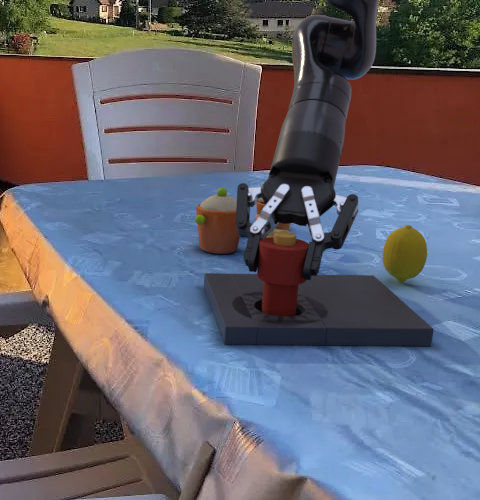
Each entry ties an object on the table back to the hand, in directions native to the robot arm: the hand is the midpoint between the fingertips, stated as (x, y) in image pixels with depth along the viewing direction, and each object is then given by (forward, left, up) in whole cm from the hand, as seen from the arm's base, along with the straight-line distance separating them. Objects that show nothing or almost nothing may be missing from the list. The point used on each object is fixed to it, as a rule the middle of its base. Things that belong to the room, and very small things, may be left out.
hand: (279, 271), depth 77 cm
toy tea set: (-4, -38, -7) cm, 38 cm away
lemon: (-21, -17, -7) cm, 27 cm away
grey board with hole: (-5, -5, -7) cm, 9 cm away
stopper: (-1, -2, -6) cm, 6 cm away
